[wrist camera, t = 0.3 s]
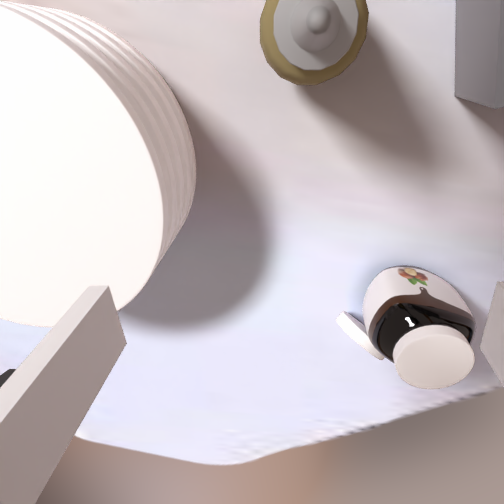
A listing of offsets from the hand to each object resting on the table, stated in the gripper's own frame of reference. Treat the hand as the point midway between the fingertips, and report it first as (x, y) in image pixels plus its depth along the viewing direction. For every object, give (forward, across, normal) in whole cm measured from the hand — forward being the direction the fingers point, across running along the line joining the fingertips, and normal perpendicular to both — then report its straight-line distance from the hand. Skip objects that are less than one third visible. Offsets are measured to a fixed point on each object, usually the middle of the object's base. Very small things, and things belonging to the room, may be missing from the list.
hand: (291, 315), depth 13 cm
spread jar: (+28, +11, -20) cm, 36 cm away
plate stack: (+28, -24, -1) cm, 37 cm away
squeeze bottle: (+28, +1, +9) cm, 30 cm away
